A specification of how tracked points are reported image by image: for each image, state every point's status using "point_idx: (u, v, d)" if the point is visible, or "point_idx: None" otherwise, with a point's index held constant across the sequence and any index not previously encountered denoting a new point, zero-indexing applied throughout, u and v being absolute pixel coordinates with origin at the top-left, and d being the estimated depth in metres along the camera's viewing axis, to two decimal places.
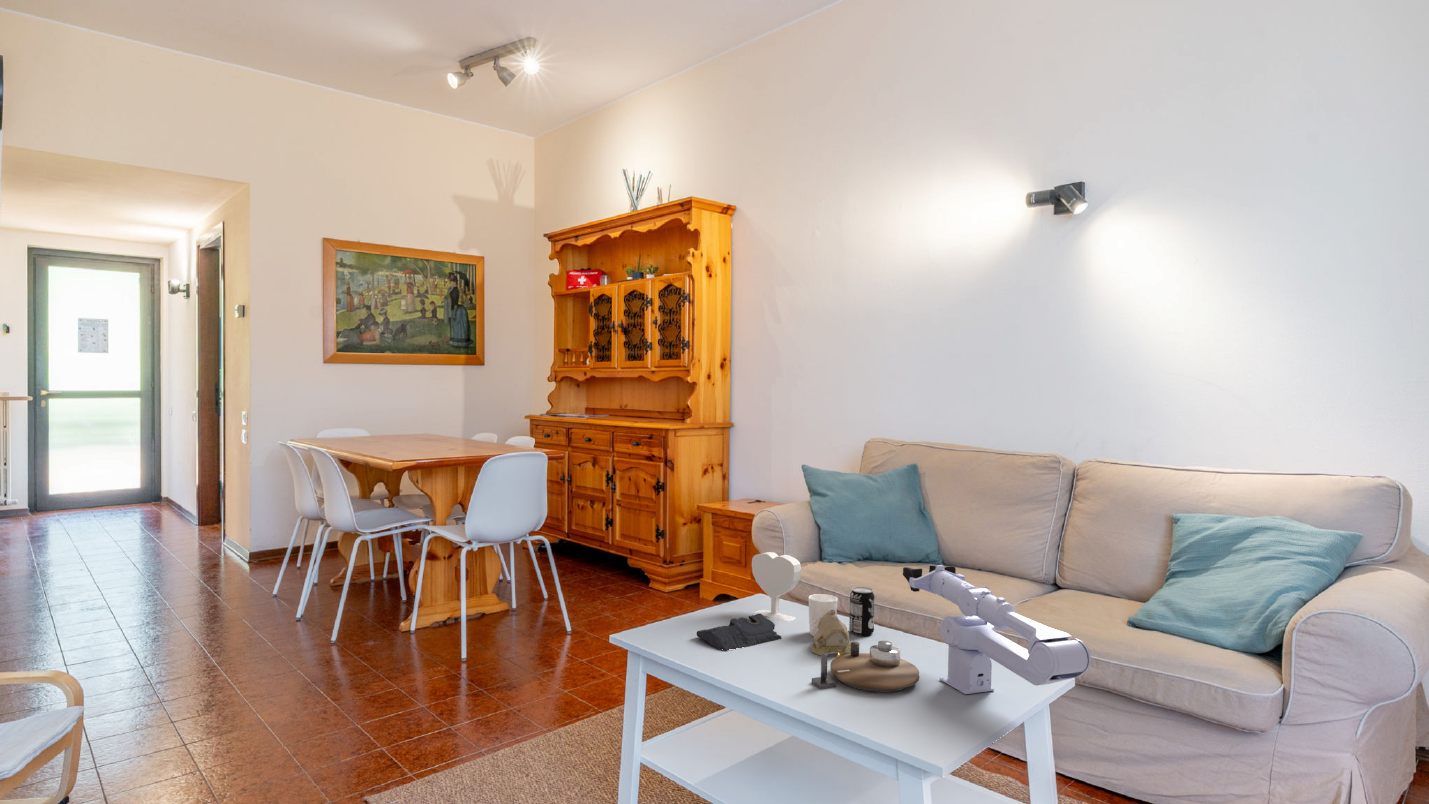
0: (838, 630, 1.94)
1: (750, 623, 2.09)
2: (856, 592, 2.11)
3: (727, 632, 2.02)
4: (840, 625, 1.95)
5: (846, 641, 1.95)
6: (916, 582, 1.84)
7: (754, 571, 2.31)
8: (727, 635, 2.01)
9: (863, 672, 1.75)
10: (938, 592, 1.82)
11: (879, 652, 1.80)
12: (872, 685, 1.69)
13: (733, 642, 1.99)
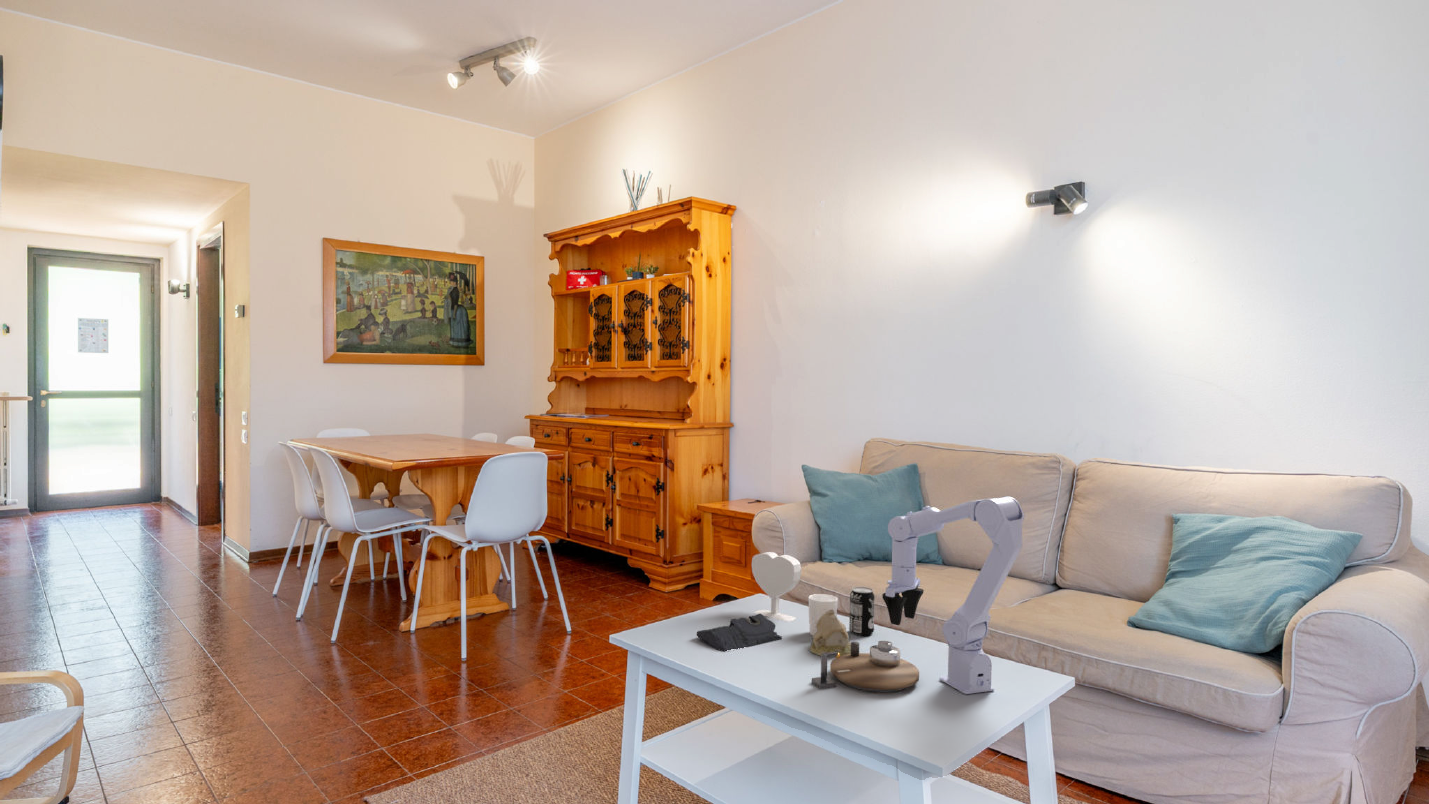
0: (837, 630, 1.94)
1: (750, 623, 2.09)
2: (856, 592, 2.11)
3: (727, 633, 2.02)
4: (839, 625, 1.95)
5: (845, 641, 1.95)
6: None
7: (754, 571, 2.31)
8: (727, 635, 2.01)
9: (863, 672, 1.75)
10: (903, 573, 1.86)
11: (879, 652, 1.80)
12: (872, 685, 1.69)
13: (733, 642, 1.99)
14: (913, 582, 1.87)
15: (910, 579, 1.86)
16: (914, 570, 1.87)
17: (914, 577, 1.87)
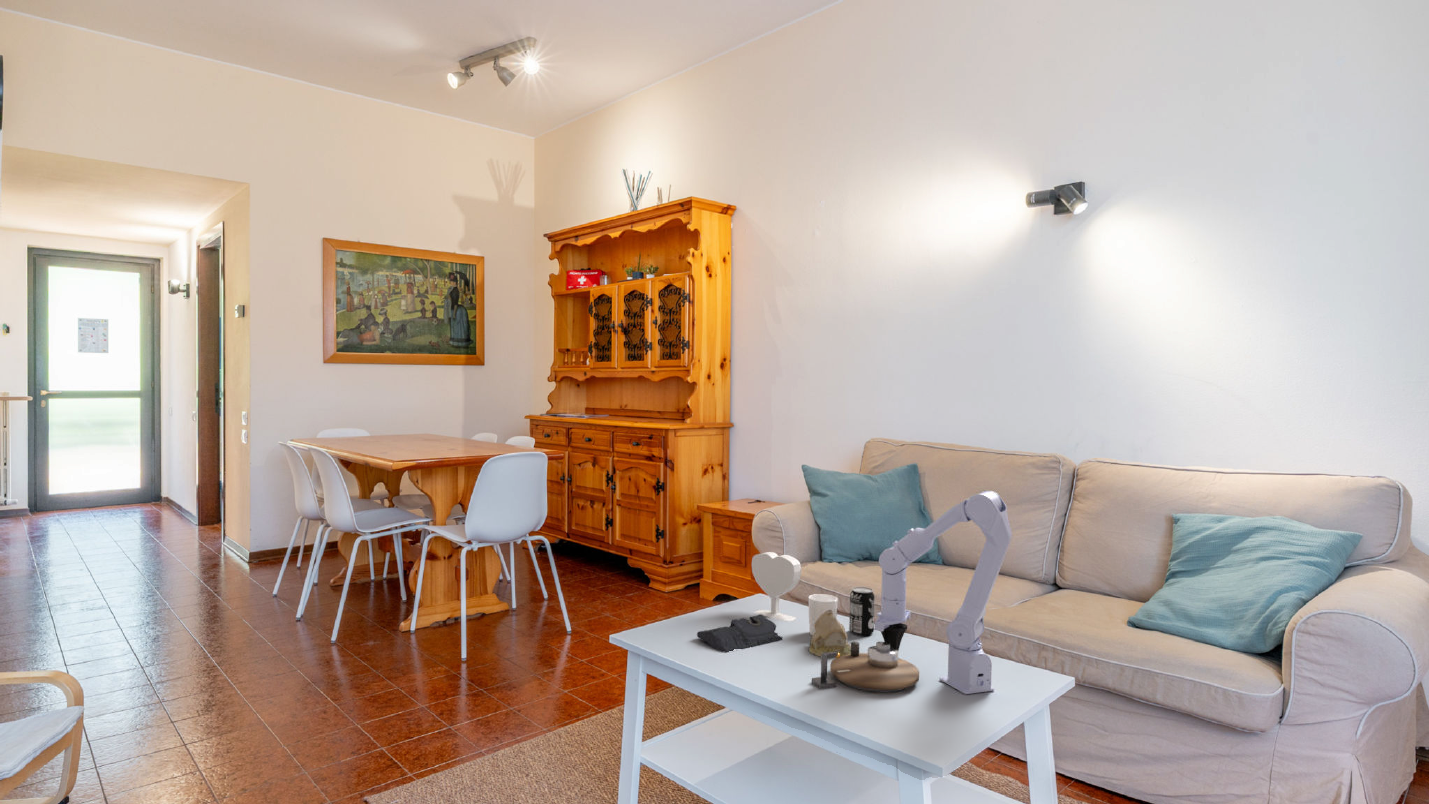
0: (836, 630, 1.94)
1: (751, 624, 2.08)
2: (856, 592, 2.11)
3: (728, 633, 2.02)
4: (838, 625, 1.95)
5: (844, 641, 1.95)
6: None
7: (754, 571, 2.31)
8: (727, 636, 2.00)
9: (863, 672, 1.75)
10: (893, 606, 1.83)
11: (877, 653, 1.79)
12: (872, 685, 1.69)
13: (733, 643, 1.98)
14: (903, 615, 1.83)
15: (900, 612, 1.83)
16: (904, 603, 1.83)
17: (904, 610, 1.84)
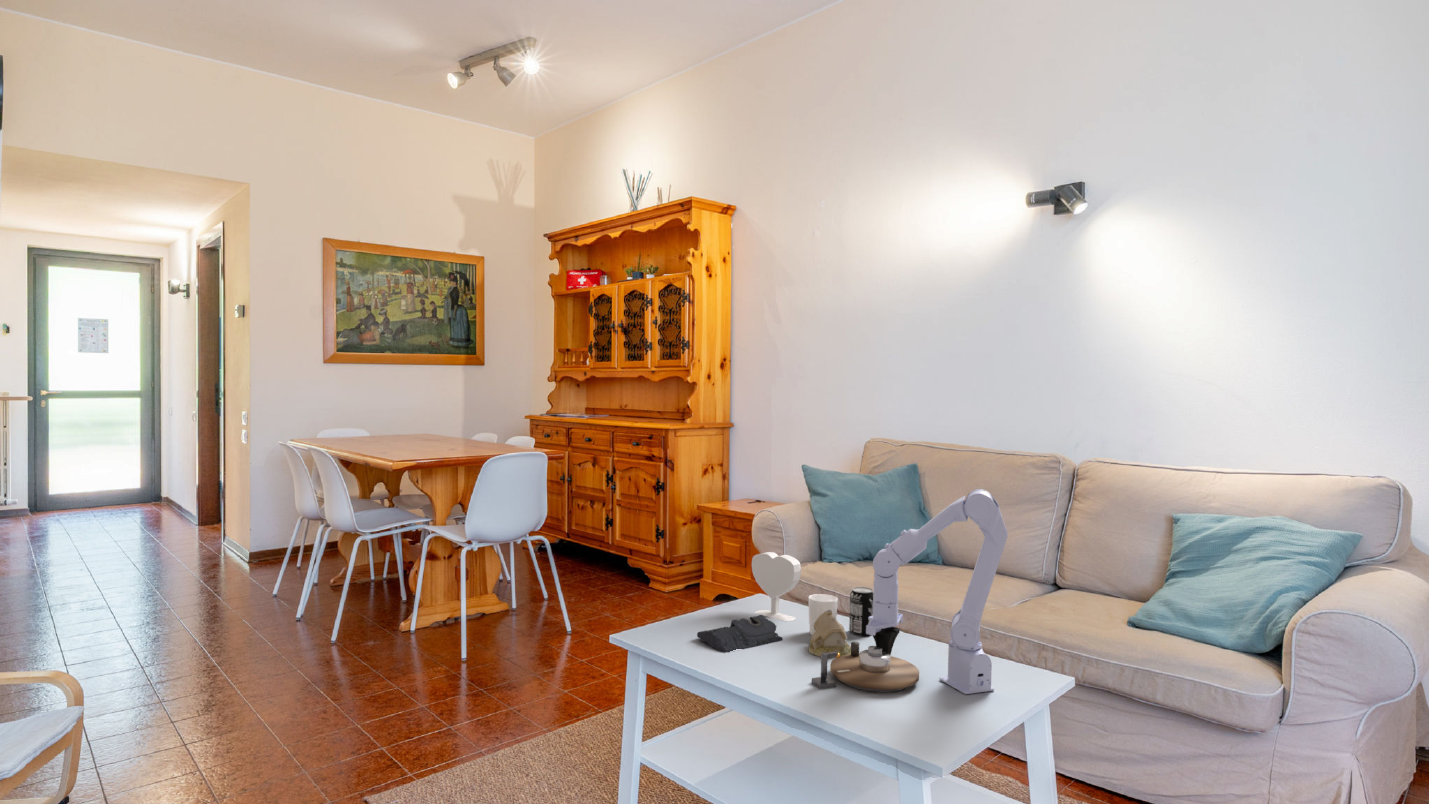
0: (836, 630, 1.94)
1: (751, 624, 2.08)
2: (856, 592, 2.11)
3: (728, 633, 2.01)
4: (838, 625, 1.95)
5: (844, 641, 1.95)
6: None
7: (754, 571, 2.31)
8: (727, 636, 2.00)
9: (863, 672, 1.75)
10: (885, 609, 1.79)
11: (869, 658, 1.76)
12: (872, 685, 1.69)
13: (733, 643, 1.98)
14: (895, 619, 1.80)
15: (892, 616, 1.80)
16: (896, 606, 1.80)
17: (896, 614, 1.80)
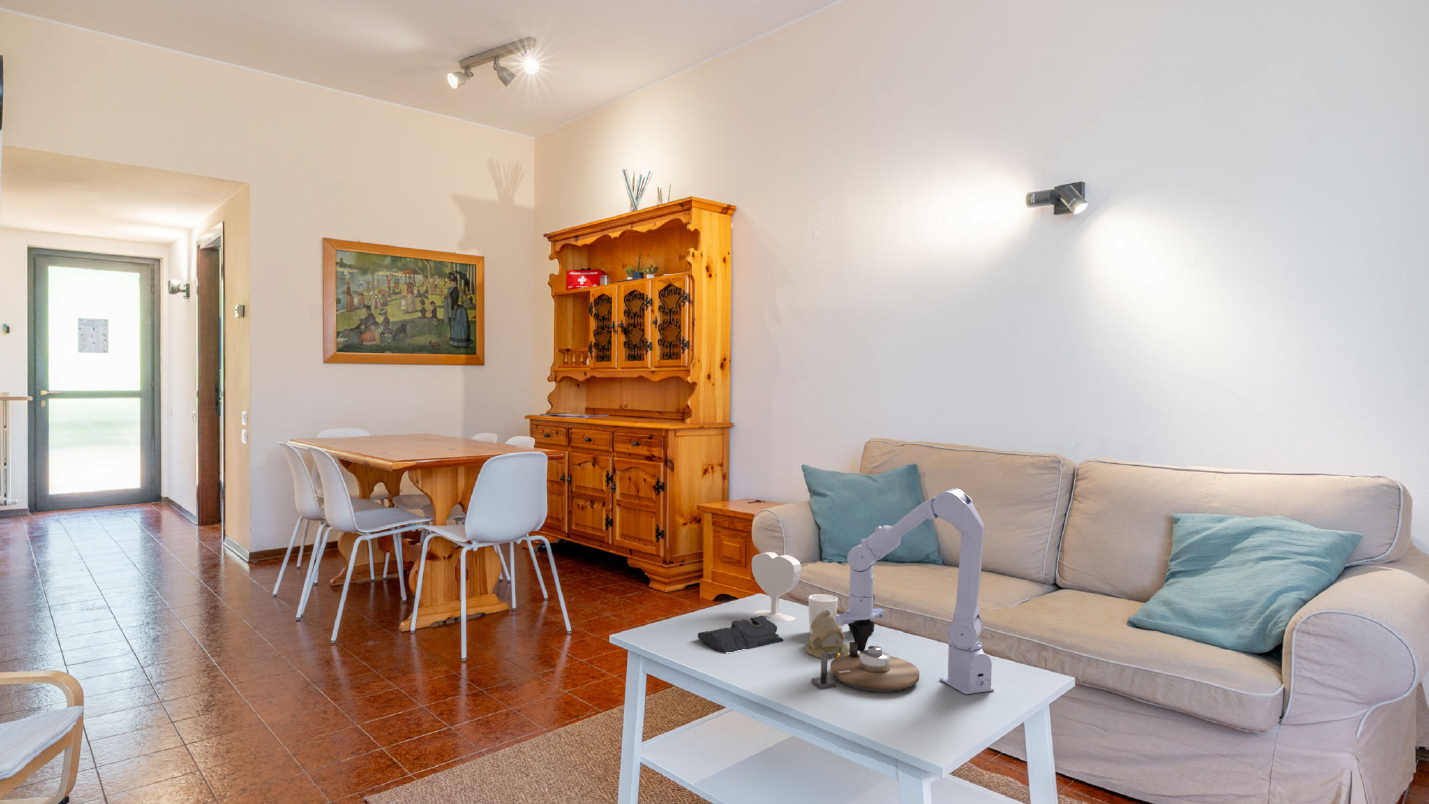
0: (835, 631, 1.94)
1: (752, 625, 2.07)
2: None
3: (728, 634, 2.01)
4: (836, 626, 1.95)
5: (842, 641, 1.95)
6: None
7: (754, 571, 2.31)
8: (728, 637, 2.00)
9: (864, 673, 1.75)
10: (857, 602, 1.85)
11: (870, 658, 1.76)
12: (874, 685, 1.69)
13: (734, 644, 1.98)
14: (868, 612, 1.85)
15: (864, 609, 1.85)
16: (869, 600, 1.85)
17: (869, 607, 1.85)
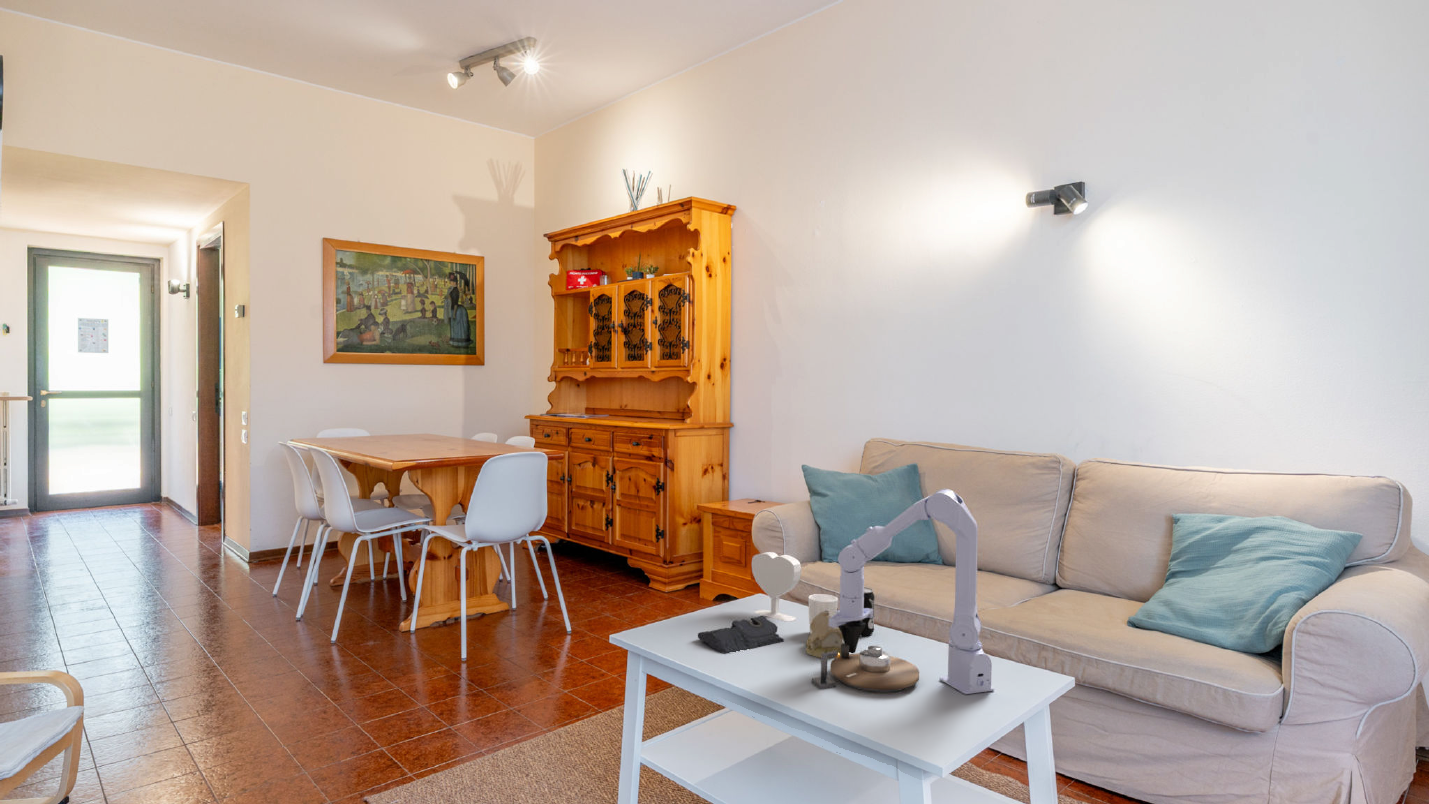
0: (834, 631, 1.93)
1: (752, 625, 2.07)
2: None
3: (729, 634, 2.00)
4: None
5: (841, 641, 1.95)
6: None
7: (754, 571, 2.31)
8: (728, 637, 1.99)
9: (870, 674, 1.74)
10: (849, 603, 1.84)
11: (873, 658, 1.76)
12: (888, 686, 1.69)
13: (734, 644, 1.97)
14: (859, 613, 1.84)
15: (856, 610, 1.84)
16: (861, 601, 1.84)
17: (861, 608, 1.85)
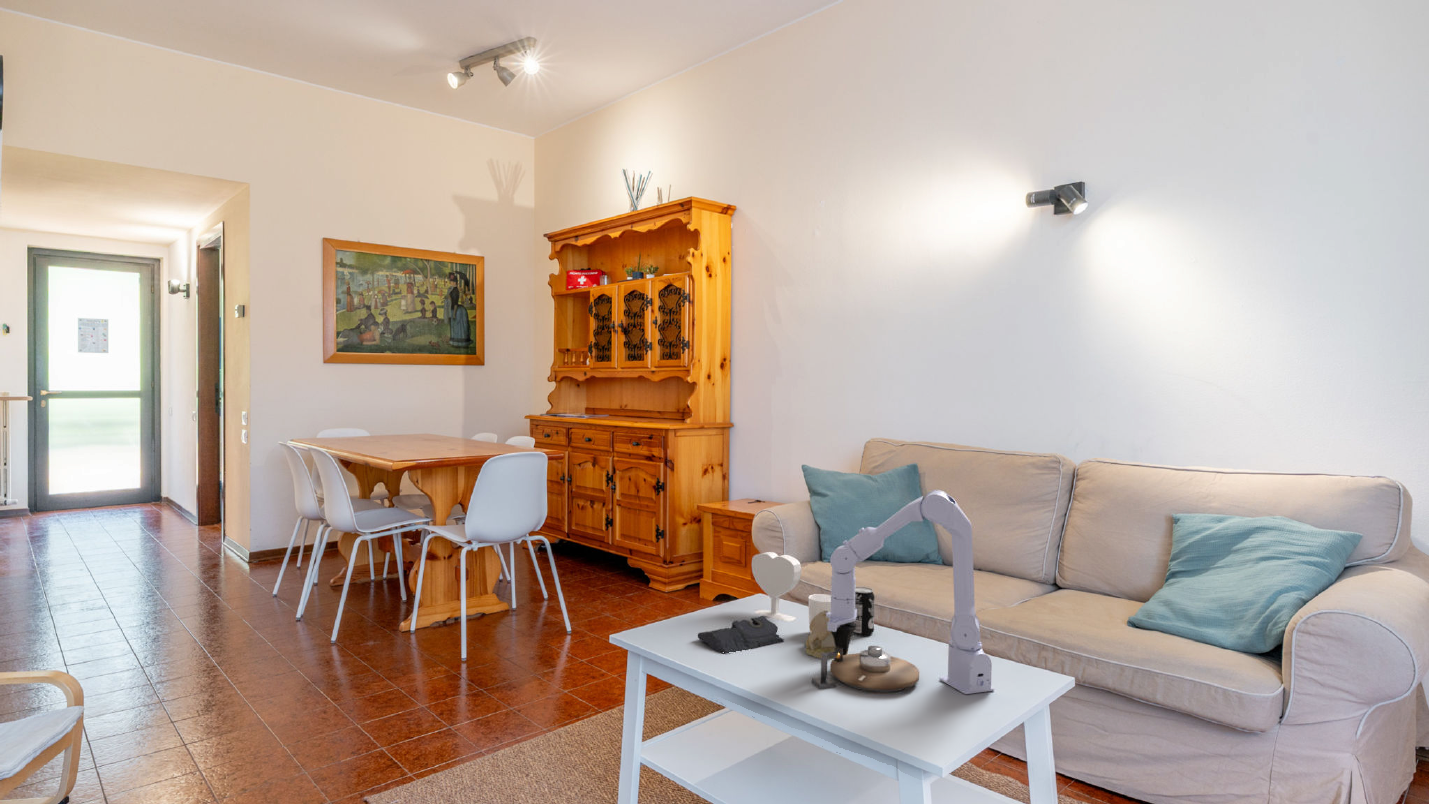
0: None
1: (752, 626, 2.07)
2: (856, 592, 2.11)
3: (729, 635, 2.00)
4: None
5: None
6: None
7: (754, 571, 2.31)
8: (728, 637, 1.99)
9: (877, 675, 1.74)
10: (844, 605, 1.82)
11: (878, 659, 1.76)
12: (902, 684, 1.70)
13: (734, 645, 1.97)
14: (853, 614, 1.83)
15: (850, 611, 1.83)
16: (854, 601, 1.83)
17: (854, 609, 1.84)
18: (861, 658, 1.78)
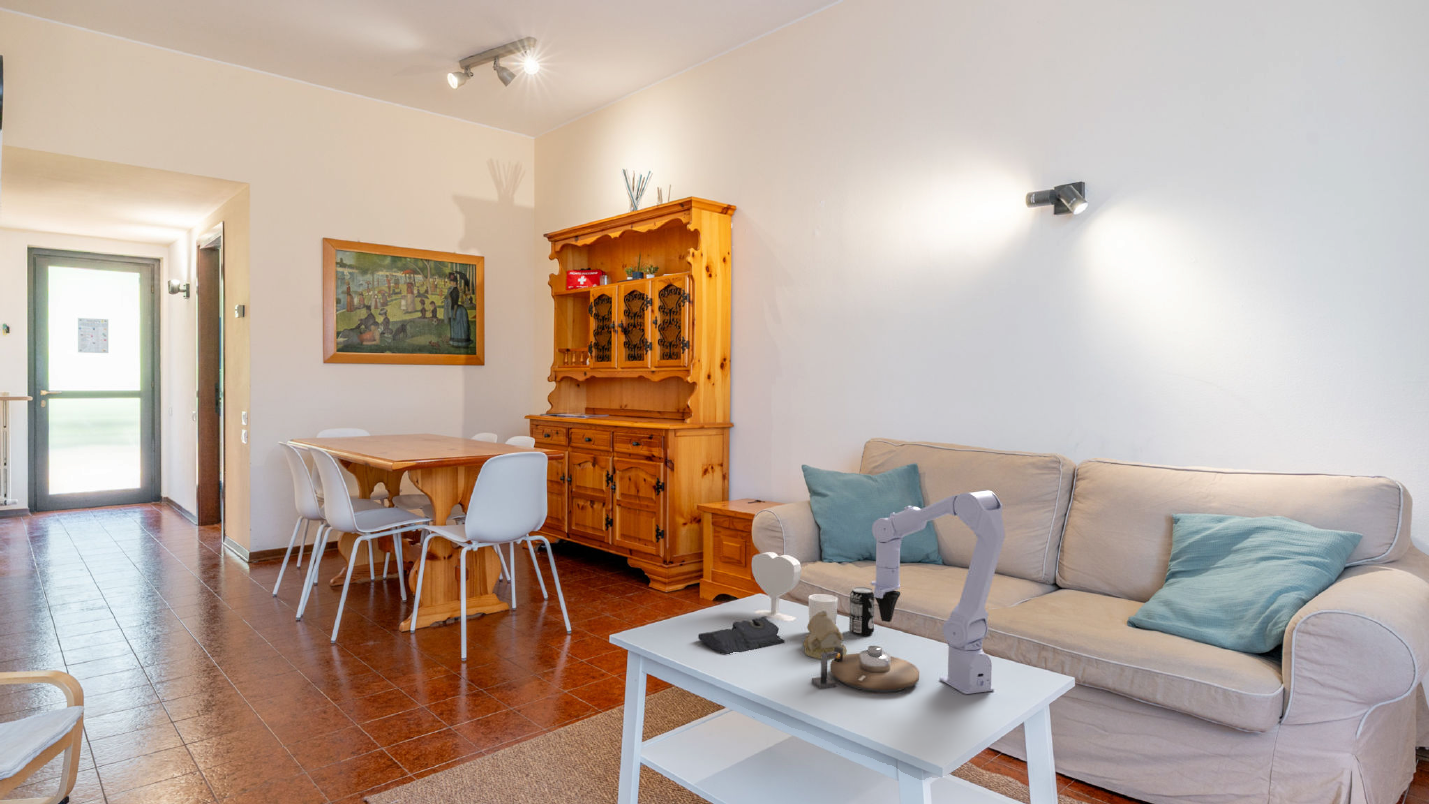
0: (833, 631, 1.93)
1: (753, 626, 2.06)
2: (856, 592, 2.11)
3: (729, 636, 2.00)
4: (834, 626, 1.94)
5: (840, 642, 1.94)
6: (878, 590, 1.87)
7: (754, 571, 2.31)
8: (728, 638, 1.99)
9: (877, 675, 1.74)
10: (889, 573, 1.89)
11: (878, 659, 1.76)
12: (902, 684, 1.70)
13: (734, 646, 1.97)
14: (898, 582, 1.91)
15: (895, 579, 1.90)
16: (898, 570, 1.91)
17: (898, 577, 1.91)
18: (861, 658, 1.78)
